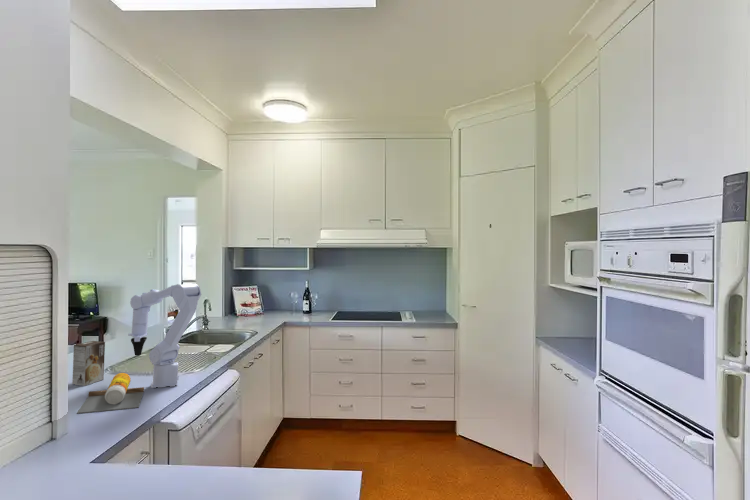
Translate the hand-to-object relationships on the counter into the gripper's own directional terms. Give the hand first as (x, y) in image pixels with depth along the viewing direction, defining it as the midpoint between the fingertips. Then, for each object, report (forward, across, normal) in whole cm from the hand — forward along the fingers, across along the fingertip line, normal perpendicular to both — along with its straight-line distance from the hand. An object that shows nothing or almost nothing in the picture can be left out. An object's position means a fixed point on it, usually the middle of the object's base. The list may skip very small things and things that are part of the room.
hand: (137, 355), depth 176 cm
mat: (+10, +28, -4) cm, 30 cm away
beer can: (+5, +16, -3) cm, 17 cm away
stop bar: (+10, +19, -4) cm, 22 cm away
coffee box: (+11, -1, -17) cm, 21 cm away
